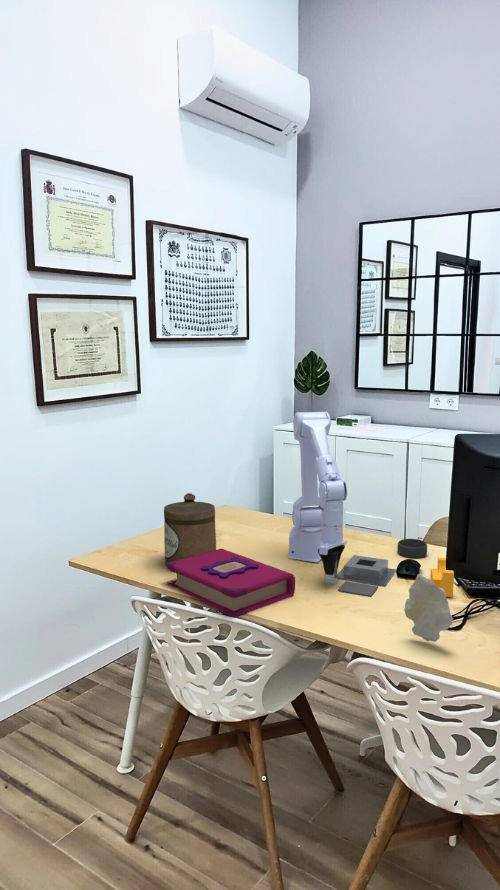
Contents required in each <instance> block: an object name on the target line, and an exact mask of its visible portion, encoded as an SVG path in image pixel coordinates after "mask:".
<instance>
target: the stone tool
mask: <svg viewBox="0 0 500 890" xmlns="http://www.w3.org/2000/svg"><path fill="white" fill-rule="evenodd" d="M408 593H409V595H408V597H409V598H406V601H405V603H404V615H405V617H406V618H407V619H409V620H411V621H412V622H413V623H414V624H413V627H411V631H412V633H413V635H416V636H417V637H420V638H421V639H423V640H424V641H427V642H429V641H431V642H434V643H435V642H437V641H438V640H439V639H440V636H441V635H440V632H441V631H444V632H445V631H447V630H448V629H449V627H451V626H452V625H453V621H454V617H453V616H452V614H451V612H450V611H451V610H450V609H451V608H450V606H449V601H448V600H447V599H448V598H447V597H446V594H445V591H444V589H442V588H440V587H438V586H436V585H435V584H434V583H433V582H432V581H431V579H430V578H428V577H425V576H423V575H422V574H421V573H418V574H417V575H416V577H415V579H414V581H413V583H412V584H411V585H410V587H409V589H408Z"/></svg>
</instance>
